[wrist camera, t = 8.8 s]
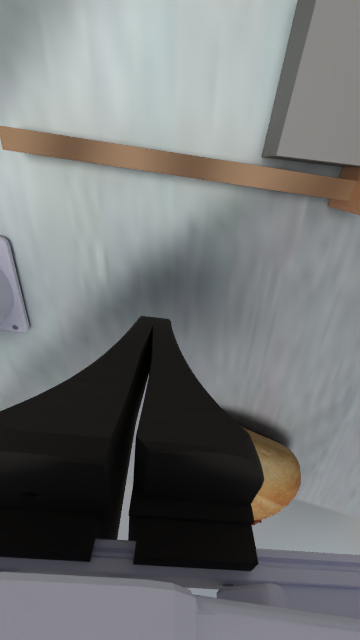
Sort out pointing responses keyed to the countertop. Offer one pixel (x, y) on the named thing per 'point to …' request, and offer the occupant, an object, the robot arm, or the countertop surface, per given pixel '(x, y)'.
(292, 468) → the bread roll
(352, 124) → the block
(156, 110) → the countertop surface
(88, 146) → the rail lane
